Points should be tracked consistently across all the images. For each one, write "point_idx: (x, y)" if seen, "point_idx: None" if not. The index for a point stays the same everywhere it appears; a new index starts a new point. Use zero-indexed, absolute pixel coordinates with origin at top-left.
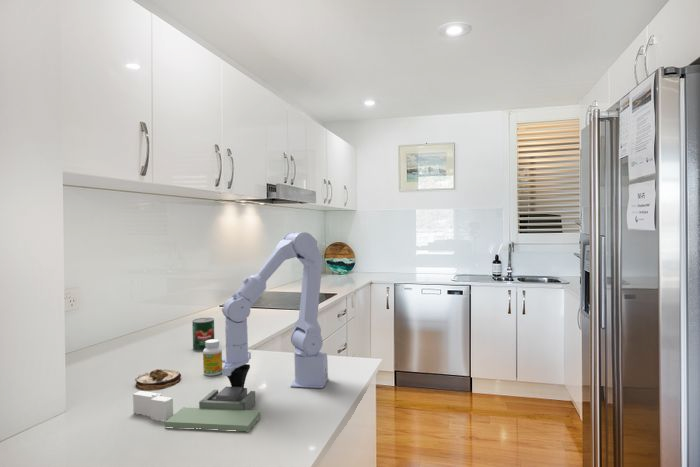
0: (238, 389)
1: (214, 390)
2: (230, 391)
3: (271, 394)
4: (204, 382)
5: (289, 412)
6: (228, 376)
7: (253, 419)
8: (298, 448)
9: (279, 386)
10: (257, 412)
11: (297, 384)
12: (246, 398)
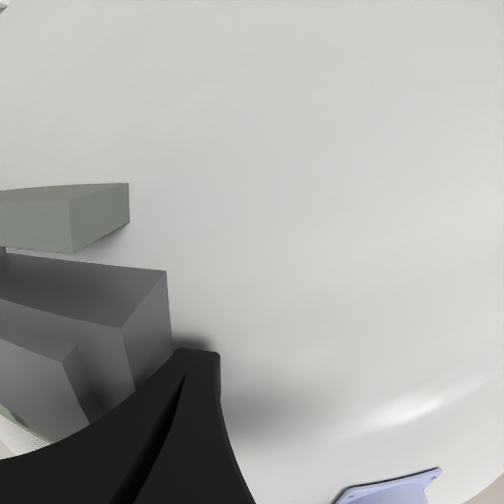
0: (65, 437)
1: (52, 218)
2: (20, 395)
3: (275, 464)
4: (491, 8)
5: None
6: (44, 457)
7: (12, 421)
8: (21, 452)
9: (375, 461)
10: (42, 437)
11: (353, 499)
12: (53, 439)
